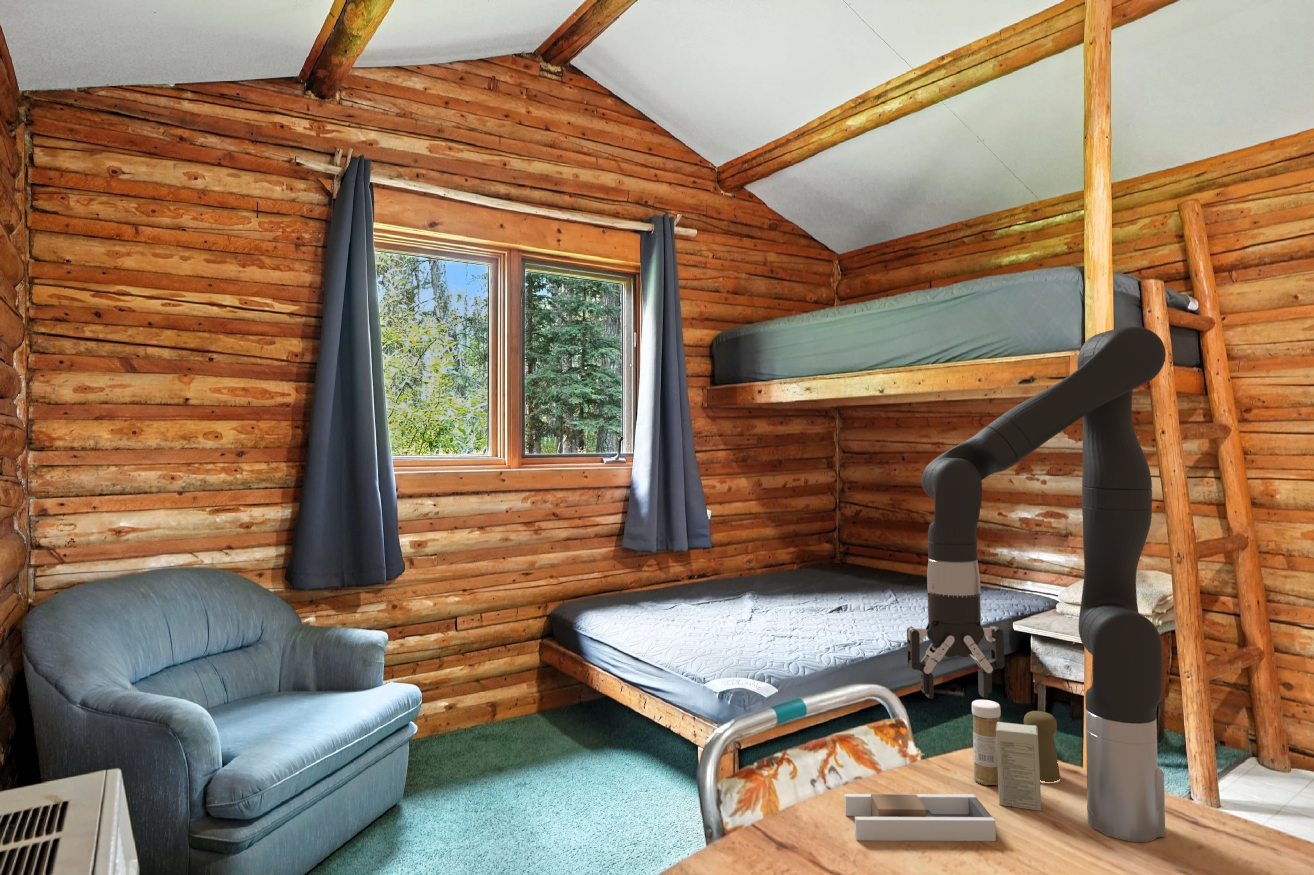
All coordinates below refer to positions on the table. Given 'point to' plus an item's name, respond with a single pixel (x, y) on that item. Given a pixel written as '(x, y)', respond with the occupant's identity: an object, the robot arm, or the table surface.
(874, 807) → the walnut block
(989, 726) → the sprinkles bottle
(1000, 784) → the skincare box
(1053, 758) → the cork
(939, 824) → the trap channel
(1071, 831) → the table surface
